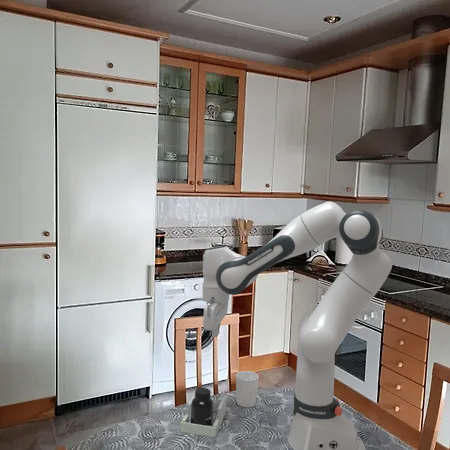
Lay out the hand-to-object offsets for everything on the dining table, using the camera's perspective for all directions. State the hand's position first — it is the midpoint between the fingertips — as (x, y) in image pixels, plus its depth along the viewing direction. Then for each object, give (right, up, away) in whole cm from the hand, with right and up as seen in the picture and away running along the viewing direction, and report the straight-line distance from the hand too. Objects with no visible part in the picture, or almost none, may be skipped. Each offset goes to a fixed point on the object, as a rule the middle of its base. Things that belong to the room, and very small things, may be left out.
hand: (215, 335), depth 144 cm
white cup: (+11, -26, +9) cm, 30 cm away
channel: (-3, -26, -1) cm, 27 cm away
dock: (-5, -27, -9) cm, 29 cm away
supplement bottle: (-4, -27, -8) cm, 29 cm away
